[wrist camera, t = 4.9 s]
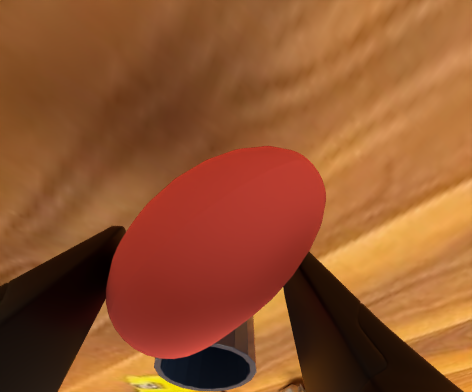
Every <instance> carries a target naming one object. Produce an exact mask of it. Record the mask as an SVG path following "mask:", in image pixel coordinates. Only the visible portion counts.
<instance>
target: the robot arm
mask: <svg viewBox="0 0 472 392" xmlns="http://www.w3.org/2000/svg"><path fill="white" fill-rule="evenodd" d="M125 233H126V231H125V228H124V227H123V226H111V227H109V228H108V229H106V230H104V231H102V232H100V233H98V234H97V235H95V236H93V237H91V238H89V239H87V240H85V241H84V242H82V243H80V244H78V245H76V246H74V247H72V248H71V249H69V250H67V251H65V252H63V253H61V254H59V255H58V256H56V257H54V258H52V259H50V260H48V261H46V262H45V263H43V264H41V265H39V266H37V267H35V268H34V269H32V270H30V271H28V272H26V273H24V274H22V275H21V276H19V277H17V278H15V279H13V280H11V281H10V282H9V283H6V284H4V285H2V286H0V392H58V390H59V388H60V386H61V384H62V382H63V380H64V378H65V376H66V375H67V373H68V371H69V369H70V367H71V365H72V363H73V361H74V359H75V357H76V355H77V353H78V351H79V349H80V347H81V345H82V344H83V342H84V340H85V338H86V336H87V334H88V332H89V330H90V328H91V326H92V324H93V322H94V320H95V318H96V316H97V314H98V313H99V311H100V309H101V307H102V305H103V303H104V301H105V299H106V286H107V281H108V276H109V272H110V267H111V263H112V259H113V256H114V254H115V251H116V249H117V247H118V245H119V243H120V241H121V239H122V238H123V236H124V235H125ZM283 288H284V295H285V300H286V304H287V309H288V313H289V318H290V322H291V327H292V331H293V336H294V340H295V345H296V350H297V354H298V359H299V363H300V368H301V372H302V377H303V381H304V386H305V390H306V392H464V391H462V390H461V389H459V388H458V387H457V386H456V385H454V384H453V383H452V382H451V381H450V380H448V379H447V378H446V377H445V376H444V375H443V374H441V373H440V372H439V371H438V370H437V369H435V368H434V367H433V366H432V365H431V364H430V363H428V362H427V361H426V360H425V359H424V358H423V357H421V356H420V355H419V354H418V353H417V352H415V351H414V350H413V349H412V348H411V347H410V346H408V345H407V344H406V343H405V342H404V341H403V340H401V339H400V338H399V337H398V336H397V335H396V334H395V333H394V332H392V331H391V330H390V329H389V328H388V327H387V326H386V325H385V324H383V323H382V322H381V321H380V320H379V319H378V318H377V317H376V316H375V315H374V314H373V313H372V312H371V311H370V310H369V309H368V308H367V307H366V306H365V305H364V304H362V303H361V302H360V301H359V300H358V299H357V298H356V297H355V296H354V295H353V294H352V293H351V292H350V291H349V290H348V289H347V288H346V287H345V286H344V285H343V284H342V283H341V282H340V281H339V280H338V279H337V278H336V277H335V276H334V275H333V274H332V273H331V272H330V271H329V270H327V269H326V268H325V267H324V266H323V265H322V264H321V263H320V262H319V261H318V260H317V259H316V258H315V257H314V256H313V255H312V254H311V253H310V252H308V253H307V255H306V256H305V258H304V259H303V261H302V262H301V264H300V265H299V267H298V268H297V270H296V271H295V273H294V274H293V276H292V277H291V278H290V279H289V280H288V282H287V283H286V284H285V285H284V286H283ZM360 303H361V304H360Z"/></svg>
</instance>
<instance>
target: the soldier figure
mask: <svg viewBox="0 0 472 392" xmlns="http://www.w3.org/2000/svg"><path fill="white" fill-rule="evenodd" d="M283 392H306V390H304V389H303V387H302V385H301V384H300V386H299V387H298V386H295V385H294V384H291V385H290V386H288V387H287V388H286V389H284V391H283Z"/></svg>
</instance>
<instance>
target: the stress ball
mask: <svg viewBox="0 0 472 392" xmlns="http://www.w3.org/2000/svg"><path fill="white" fill-rule="evenodd" d="M325 202H326V192H325V187H324V184H323V181H322V178H321V176H320V174H319V172H318V171H317V169H316V168H315V167H314V165H313V164H312V163H311V162H310V161H309V160H308V159H307V158H305V157H304V156H303V155H301V154H299V153H298V152H295V151H292V150H287V149H282V148H277V147H272V146H262V147H253V148H243V149H236V150H233V151H230V152H227V153H225V154H222V155H219V156H216V157H213V158H210V159H207V160H205V161H204V162H202V163H200V164H199V165H197V166H195V167H194V168H192V169H190V170H189V171H187V172H185V173H184V174H182V175H180V176H179V177H177V178H175V179H174V180H173V181H172V182H171V183H170V184H169V185H167V186H166V187H165V188H164V189H163V190H162V191H161V192H160V193H159V194H157V195H156V196H155V197H154V198H153V199H152V200H151V201H150V202H149V203H148V204H147V205H146V206H145V207H144V208H143V210H142V211H141V212H140V213H139V215H138V216H137V217H136V219H135V220H134V221H133V223H132V224H131V226H130V227H129V229H128V230H127V232H126V233H125V235H124V236H123V238H122V239H121V241H120V243H119V245H118V247H117V249H116V251H115V254H114V256H113V259H112V263H111V267H110V272H109V276H108V281H107V286H106V305H107V309H108V314H109V317H110V319H111V321H112V323H113V326H114V328H115V329H116V331H117V332H118V333H119V335H120V336H121V337H122V338H123V340H124V341H126V342H127V343H128V344H129V345H130V346H132V347H133V348H134V349H136V350H138V351H140V352H142V353H144V354H146V355H149V356H152V357H156V358H161V359H176V358H182V357H187V356H190V355H192V354H195V353H197V352H199V351H201V350H203V349H205V348H207V347H209V346H211V345H213V344H214V343H216V342H217V341H219V340H220V339H222V338H223V337H225V336H226V335H228V334H229V333H230V332H232V331H233V330H235V329H236V328H237V327H239V326H240V325H241V324H243V323H244V322H245V321H247V320H248V319H249V318H251V317H252V316H253V315H254V314H255V313H256V312H258V311H259V310H260V309H261V308H262V307H263V306H265V305H266V304H267V303H268V302H269V301H270V300H271V299H273V297H274V296H275V295H276V294H277V293H278V292H279V291H280V289H281V288H282V287H283V286H284V285H285V284H286V283H287V282H288V280H289V279H290V278H291V277H292V276H293V274H294V273H295V271H296V270H297V268H298V267H299V265H300V264H301V262H302V261H303V259H304V258H305V256H306V255H307V253H308V252H309V250H310V248H311V246H312V244H313V242H314V240H315V238H316V235H317V233H318V231H319V229H320V226H321V223H322V219H323V213H324V208H325Z"/></svg>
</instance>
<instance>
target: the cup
mask: <svg viewBox="0 0 472 392" xmlns="http://www.w3.org/2000/svg"><path fill="white" fill-rule="evenodd" d="M154 368H155V370H156V371H157V373H158V375H159V376H160V377H162V378H163V379H165V380H166V381H167V382H169V383H172V384H174V385H177V386H179V387H182V388H186V389H191V390H196V391H197V390H198V391H222V390H229V389H233V388H236V387H239V386H242V385H244V384H245V383H247V382H249V381H250V380H252V378H253V377H254V375H255V374H256V354H255V337H254V319H253V316H252V317H251V318H249V319H248V320H247V321H245V322H244V323H243V324H241V325H240V326H239V327H237V328H236V329H235V330H233V331H232V332H230V333H229V334H228V335H226V336H225V337H223V338H222V339H220V340H219V341H217V342H216V343H214V344H213V345H211V346H209V347H207V348H205V349H203V350H201V351H199V352H197V353H195V354H192V355H190V356H187V357H182V358H176V359H161V358H156V357H155V363H154Z"/></svg>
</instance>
